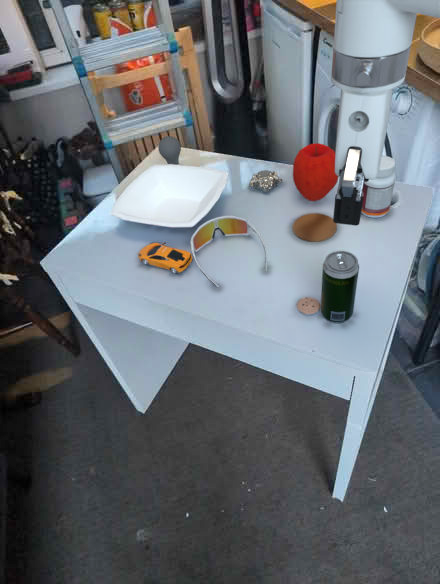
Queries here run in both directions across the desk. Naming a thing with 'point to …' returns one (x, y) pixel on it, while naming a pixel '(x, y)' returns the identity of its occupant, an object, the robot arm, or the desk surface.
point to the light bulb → (170, 149)
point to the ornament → (265, 180)
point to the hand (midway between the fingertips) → (351, 200)
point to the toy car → (165, 257)
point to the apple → (315, 171)
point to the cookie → (308, 305)
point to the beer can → (339, 286)
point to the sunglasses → (227, 228)
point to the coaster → (314, 227)
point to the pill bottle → (379, 190)
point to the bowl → (171, 195)
